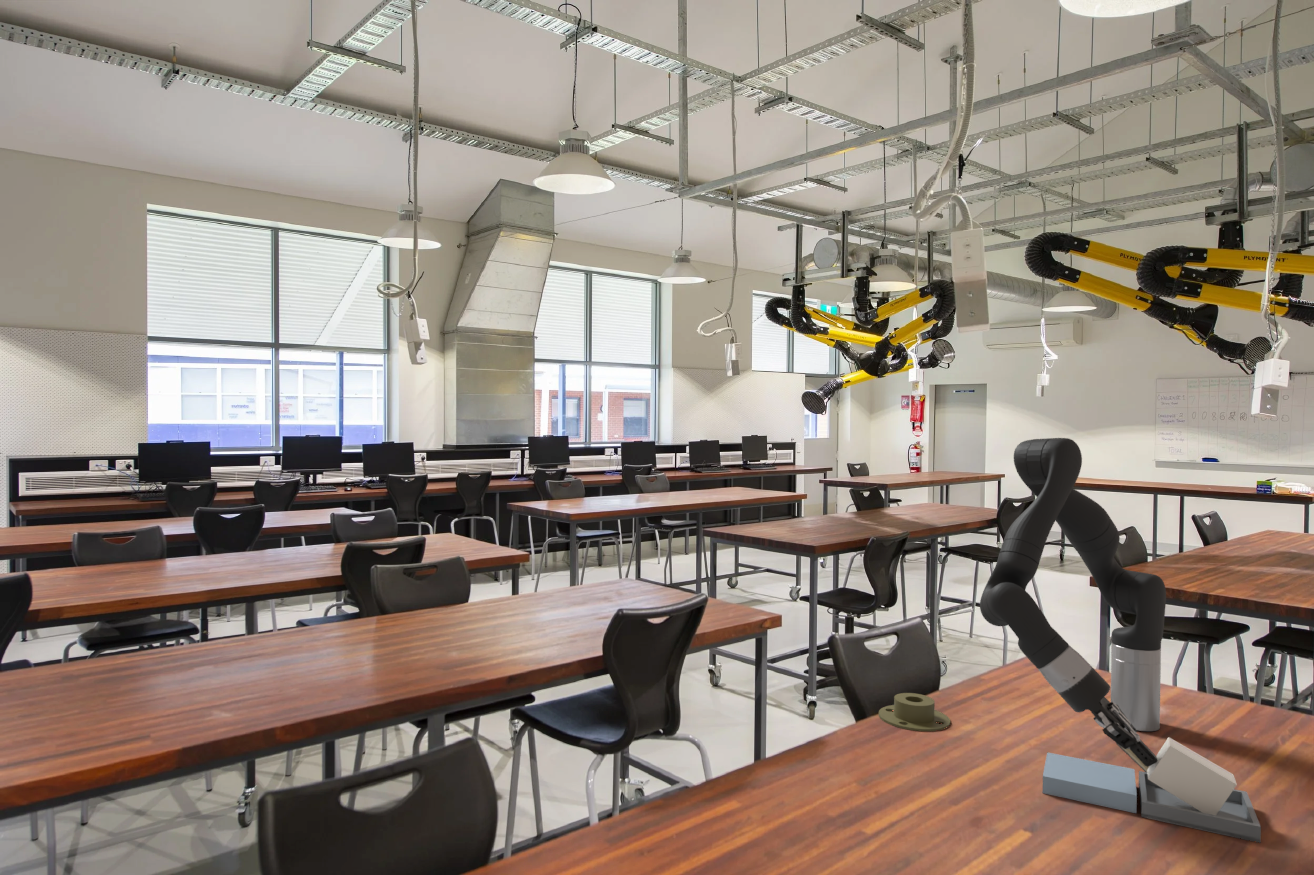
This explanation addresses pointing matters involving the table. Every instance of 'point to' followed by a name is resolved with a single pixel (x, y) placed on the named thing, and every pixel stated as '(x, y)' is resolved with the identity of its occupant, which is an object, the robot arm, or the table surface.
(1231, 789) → the white rectangular block
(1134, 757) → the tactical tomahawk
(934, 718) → the flange
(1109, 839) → the table surface
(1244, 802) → the tray
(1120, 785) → the plate
